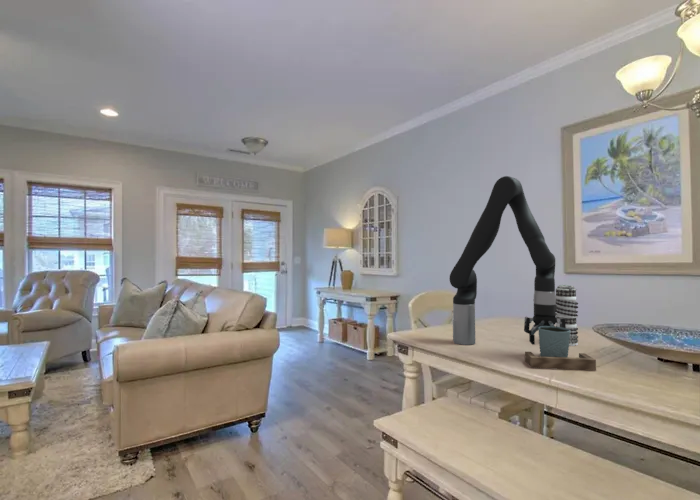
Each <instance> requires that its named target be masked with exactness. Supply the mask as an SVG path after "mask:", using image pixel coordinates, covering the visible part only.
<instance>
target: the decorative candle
mask: <svg viewBox="0 0 700 500" xmlns="http://www.w3.org/2000/svg"><path fill="white" fill-rule="evenodd" d="M577 290H578V289H576V288H575V287H574V285H567V284H564V285H563V284H560V285H557V287H555V296H556V318H563V319H565V326H566V328H567V329H569V330H570V339H569V347H575V345H576V346H578V345H579V343H578V342H579V336H578V333H579V332H578V330H579V328H578V324H577V318H578V317H579V314H578V313H579V311H578V310H577V309H578V308H579V305H578V304H579V303H578V302H577ZM555 327H560V324H559V323H558V321H557V322H556V323H555Z"/></svg>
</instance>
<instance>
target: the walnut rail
mask: <svg viewBox="0 0 700 500" xmlns="http://www.w3.org/2000/svg"><path fill="white" fill-rule="evenodd" d="M524 361H525V362H526V363H527V365H528V366H529V367H530V368H531V369H534V368H535V369H548V368H557V369H556V370H573V369H575V371H578V370H579V371H597V361H596V358H594V357H592V356H590V355H588V354H587V353H585V352H584V353H582V352H579V353H578V357H574V356H573V357H572V356H571V357H570V356H568V357H543V356H540V355H539V356H537V355H535V354H534V353H533V352H532V351H524Z"/></svg>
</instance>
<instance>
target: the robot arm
mask: <svg viewBox="0 0 700 500" xmlns="http://www.w3.org/2000/svg"><path fill="white" fill-rule="evenodd" d="M507 206H509V207H510V210H511V211H512V213H513V216H514V218H515V222H516V226H517V228H518V232H519V235H520V236H521V238H522V240H523V242H524V243H525V246H526V248H527V250H528V252H529V255H530V257H531V260H532V262H533V264H534V266H535V277H534V283H533V284H534V293H533V317H528V316H525V317H524V324H523V325H524V327H523V331H524V332H525V333H526V334H528V335H529V343H530V344H531V345H532V346H533V345H536V344H535V343H536V342H535V337H536V335H535V334H536V333H537V332H539V330H538V327H540V326H556V322H557V321H558V323H559V324H560V327H562V328H566V326H565V319H563V318H556V313H557V312H556V281H555V271H556V257H555V255H554V253H552V252H551V250H550V249H549V247H548V245H547V243H546V239H545V236H544V234H543V233H542V230H541V229H540V227H539V224H538V223H537V221H536V219H535V217H534V214H533V213H532V211H531V208H530V206H529V204H528V201H527V198H526V196H525V192H524V189H523V184H522V183H521V181H520V180H519V179H518V178H515V177H512V176H507V175H505V176H501V177H500V178H499V179H497V180H496V182H494V185H493V187H492V190H491V193H490V195H489V197H488V201H487V203H486V206H484V207H485V208H484V210H483V212H482V213H481V215H480V218H479V219H478V221H477V223H476V224H475V226H474V229H473V231H472V233H471V235H470V237H469V238H468V239H469V240H468V242H467V244H466V245H465V247H464V249H463V250H462V253H461V255H460V257H459V259H458V260H457V262H456V263H455V265H454V266H453V268H452V270H451V271H450V274H449V284H450V285H451V287H453V288H454V289H456V293H455V295H453V298H452V307H453V308H452V309H453V310H452V311H453V312H452V315H453V316H452V318H453V319H452V342H453V344H455V345H457V344H458V345H463V346H464V345H465V346H466V345H468V346H470V345H471V346H472V345H475V344H476V299H477V293H478V291H477V290H478V289H477V288H478V278H477V274H476V271H475V270H474V267H475V266H476V264H477V263H478V261H479V260H480V259H481V258H482V257H483V256H484V255H485V254H486V253H487V252H488V250H489V249H490V248H491V247H492V244H493V243H494V241H495V239H496V238H497V235H498V234H499V231H500V230H499V229H500V227H501V221H502V216H503V214H504V212H505V210H506V208H507ZM532 322H533V323H534V324H533V325H532V327H531V328H530V325H531V323H532Z"/></svg>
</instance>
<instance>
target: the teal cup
mask: <svg viewBox="0 0 700 500" xmlns="http://www.w3.org/2000/svg"><path fill="white" fill-rule="evenodd" d="M569 339H570V330H569V329H567V328H562V327H556V325H554V326H540V327H538V344H539V356H543V357H569V350H570V346H569Z"/></svg>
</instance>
